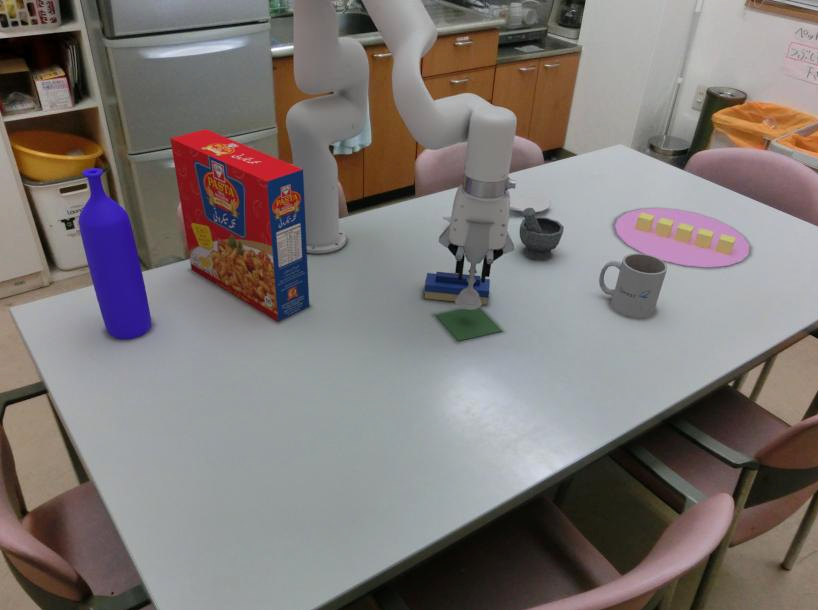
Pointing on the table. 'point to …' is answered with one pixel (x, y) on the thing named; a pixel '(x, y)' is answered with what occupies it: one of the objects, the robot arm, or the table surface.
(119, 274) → the bottle
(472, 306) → the chalice
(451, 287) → the brush
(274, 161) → the pasta box
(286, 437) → the table surface
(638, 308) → the mug
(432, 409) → the table surface
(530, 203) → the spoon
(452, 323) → the green cloth
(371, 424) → the table surface
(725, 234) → the platter
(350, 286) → the table surface
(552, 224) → the mortar and pestle
